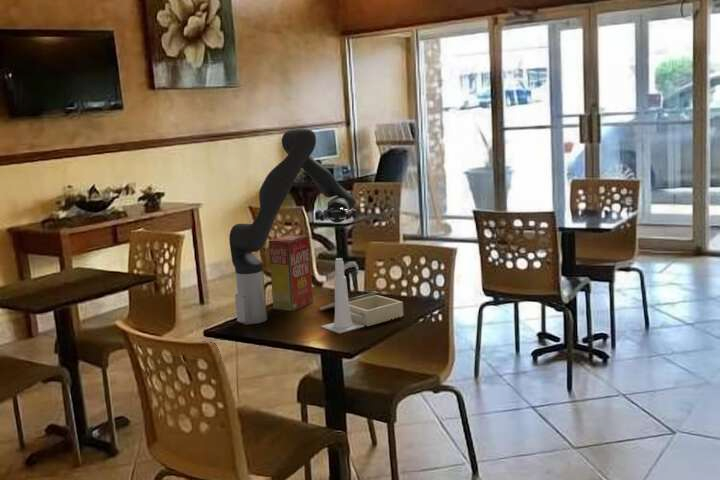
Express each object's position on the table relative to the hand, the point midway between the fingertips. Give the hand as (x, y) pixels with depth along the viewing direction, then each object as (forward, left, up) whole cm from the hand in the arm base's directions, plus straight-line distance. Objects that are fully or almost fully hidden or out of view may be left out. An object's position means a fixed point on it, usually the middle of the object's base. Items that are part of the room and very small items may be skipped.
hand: (334, 217), depth 263 cm
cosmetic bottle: (-10, -15, -33) cm, 38 cm away
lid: (+3, +1, -30) cm, 30 cm away
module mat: (-10, -16, -33) cm, 38 cm away
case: (+3, -14, -33) cm, 36 cm away
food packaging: (-7, +20, -33) cm, 39 cm away
